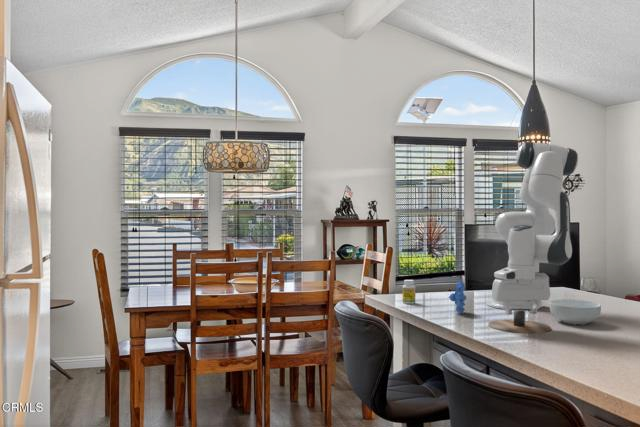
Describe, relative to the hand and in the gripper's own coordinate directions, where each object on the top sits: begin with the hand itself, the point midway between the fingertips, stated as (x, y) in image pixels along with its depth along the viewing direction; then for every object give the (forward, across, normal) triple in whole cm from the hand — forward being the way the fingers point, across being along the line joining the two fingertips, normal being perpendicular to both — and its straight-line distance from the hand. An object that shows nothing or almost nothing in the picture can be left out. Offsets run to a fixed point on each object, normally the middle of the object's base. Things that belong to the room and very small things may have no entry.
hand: (521, 313), depth 203 cm
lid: (+5, 0, -1) cm, 5 cm away
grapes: (+4, +9, -30) cm, 31 cm away
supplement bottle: (+4, +19, -56) cm, 59 cm away
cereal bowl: (+5, -24, -4) cm, 25 cm away
